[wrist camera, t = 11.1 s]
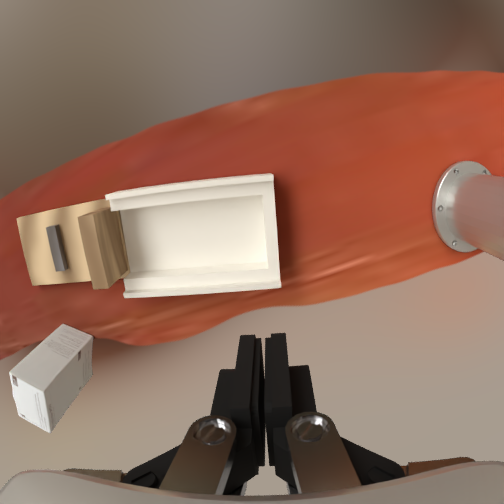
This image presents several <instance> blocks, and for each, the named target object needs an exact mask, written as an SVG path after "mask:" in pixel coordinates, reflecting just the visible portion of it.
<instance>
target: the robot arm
mask: <svg viewBox="0 0 504 504" xmlns="http://www.w3.org/2000/svg"><path fill="white" fill-rule="evenodd" d="M432 213H433V221H434V225H435V228H436V231H437V233H438V235H439V237H440V238H441V240H442V241H443V242H444V243H445V244H446V245H447V246H449V247H450V248H452V249H454V250H456V251H459V252H471V251H474V250H476V249H480V250H483V251H485V252H487V253H489V254H491V255H493V256H495V257H497V258H499V259H501V260H503V261H504V177H501V176H494V175H491V173H490V172H489V171H488V170H487V169H486V168H485V167H484V166H483V165H481V164H479V163H477V162H473V161H460V162H457V163H455V164H453V165H451V166H450V167H449V168H448V169H446V171H445V172H444V173H443V174H442V176H441V177H440V179H439V181H438V183H437V186H436V189H435V191H434V196H433V204H432ZM265 427H266V432H267V444H268V454H269V465H270V466H275V472H276V475H277V476H278V477H280V478H281V479H283V480H284V481H286V482H287V490H288V494H289V495H270V496H244V495H245V491H246V488H247V481H248V480H250V479H251V478H252V477H254V476H255V475H258V471H259V466H265ZM0 504H504V462H500V461H475V460H474V459H471V458H468V457H457V458H450V459H442V460H432V461H422V462H408V465H406V466H400V465H399V464H397V463H396V462H394V461H392V460H389V459H387V458H385V457H382V456H380V455H378V454H376V453H374V452H371V451H369V450H367V449H365V448H363V447H361V446H359V445H356V444H354V443H352V442H350V441H348V440H346V439H344V438H342V437H340V435H339V433H338V431H337V429H336V426H335V424H334V422H333V421H332V419H331V418H330V417H328V416H327V415H325V414H322V413H319V412H317V411H316V405H315V399H314V393H313V388H312V382H311V376H310V370H309V366H308V365H302V366H289V365H288V355H287V343H286V334H285V333H275V334H271V338H265V378H264V367H263V355H262V343H261V338H256V337H255V335H241V336H240V342H239V347H238V355H237V361H236V367H235V369H221V370H220V372H219V377H218V381H217V386H216V391H215V395H214V400H213V404H212V410H211V414H210V416H205V417H202V418H200V419H198V420H196V421H195V422H193V424H192V425H191V426H190V427H189V429H188V431H187V433H186V435H185V437H184V439H183V441H182V443H181V445H179V446H177V447H175V448H173V449H171V450H169V451H167V452H166V453H164V454H162V455H160V456H158V457H156V458H154V459H152V460H150V461H148V462H146V463H144V464H142V465H139V466H137V467H135V468H133V469H132V470H130V471H129V472H128V473H123V472H122V470H93V469H76V468H72V469H66V470H63V471H61V470H49V469H44V470H27V471H23V472H20V473H18V474H16V475H15V476H13V477H12V478H11V479H10V480H8V482H7V483H6V484H5V485H4V486H3V487H2V489H1V490H0Z"/></svg>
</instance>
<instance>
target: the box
mask: <svg viewBox="0 0 504 504" xmlns="http://www.w3.org/2000/svg"><path fill="white" fill-rule="evenodd" d="M273 181H274V176H273V174H271V173H269V174H256V175H244V176H234V177H223V178H214V179H204V180H196V181H187V182H179V183H171V184H164V185H156V186H149V187H142V188H136V189H129V190H123V191H118V192H114V193H110V194H107V195H105V196H106V200H110V207H111V212H112V211H119V210H120V215H121V221H122V228H123V234H124V240H125V245H126V251H127V256H128V262H129V267H130V273H129V274H128V275H127V276H126V277H125V278H124V279H123V280H124V284H125V289H126V291H125V292H124V293H123V294H124V298H138V297H158V296H176V295H192V294H207V293H222V292H235V291H248V290H260V289H272V288H281V281H280V268H279V253H278V238H277V223H276V209H275V196H274V183H273Z"/></svg>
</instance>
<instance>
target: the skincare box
mask: <svg viewBox="0 0 504 504" xmlns="http://www.w3.org/2000/svg"><path fill="white" fill-rule="evenodd" d="M92 346H93V336H92V335H89V334H87V333H84V332H82V331H79V330H77V329H75V328H72V327H70V326H67V325H65V324H62V325H61V326H60V327H59V328H57V329H56V330H55V331H54V332H53V333H52V334H51V335H49V336H48V337H47V338H46V339H45V340H44V341H43V342H42V343H40V344H39V345H38V346H37V347H36V348H35V349H34V350H33V351H32V352H31V353H30V354H28V355H27V356H26V357H25V358H24V359H23V360H22V361H21V362H20V363H19V364H18V365H16V366H15V367H14V368H13V369H12V370H11V371H10V372H9V374H10V378H11V383H12V388H13V398H14V400H15V402H16V406H17V410H18V414H19V416H20V417H22V418H24V419H25V420H27V421H29V422H30V423H32V424H34V425H36V426H38V427H40V428H41V429H43V430H45V431H47V432H49V433H51V432H52V430H53V429H54V427H55V426H56V425H57V423H58V422H59V420H60V419H61V418H62V416H63V415H64V413H65V412H66V410H67V409H68V408H69V406H70V405H71V404H72V402H73V401H74V400H75V398H76V397H77V395H78V394H79V393H80V391H81V390H82V388H83V387H84V386H85V385H86V383H87V382H88V380H89V379H90V378H91V377H92V375H93V373H92Z"/></svg>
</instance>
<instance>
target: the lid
mask: <svg viewBox="0 0 504 504" xmlns="http://www.w3.org/2000/svg"><path fill="white" fill-rule="evenodd" d="M17 223H18V228H19V233H20V238H21V243H22V247H23V251H24V256H25V260H26V264H27V267H28V271H29V275H30V278H31V282H32V285H33V286H34V285H47V284H60V283H72V282H84V281H91V282H92V285H93V289H106V288H110V287H111V286H112V285H113V284H114V283H115V282H116V281H117V280H118V279H120V278H125V277H126V276H127V275H128V274H129V273H130V267H129V262H128V256H127V251H126V245H125V240H124V234H123V228H122V221H121V215H120V210H119V211H112V212H111V207H110V200H106V199H101V200H96V201H91V202H86V203H81V204H76V205H71V206H67V207H62V208H57V209H53V210H48V211H44V212H40V213H35V214H31V215H27V216H23V217H19V218H17Z"/></svg>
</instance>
